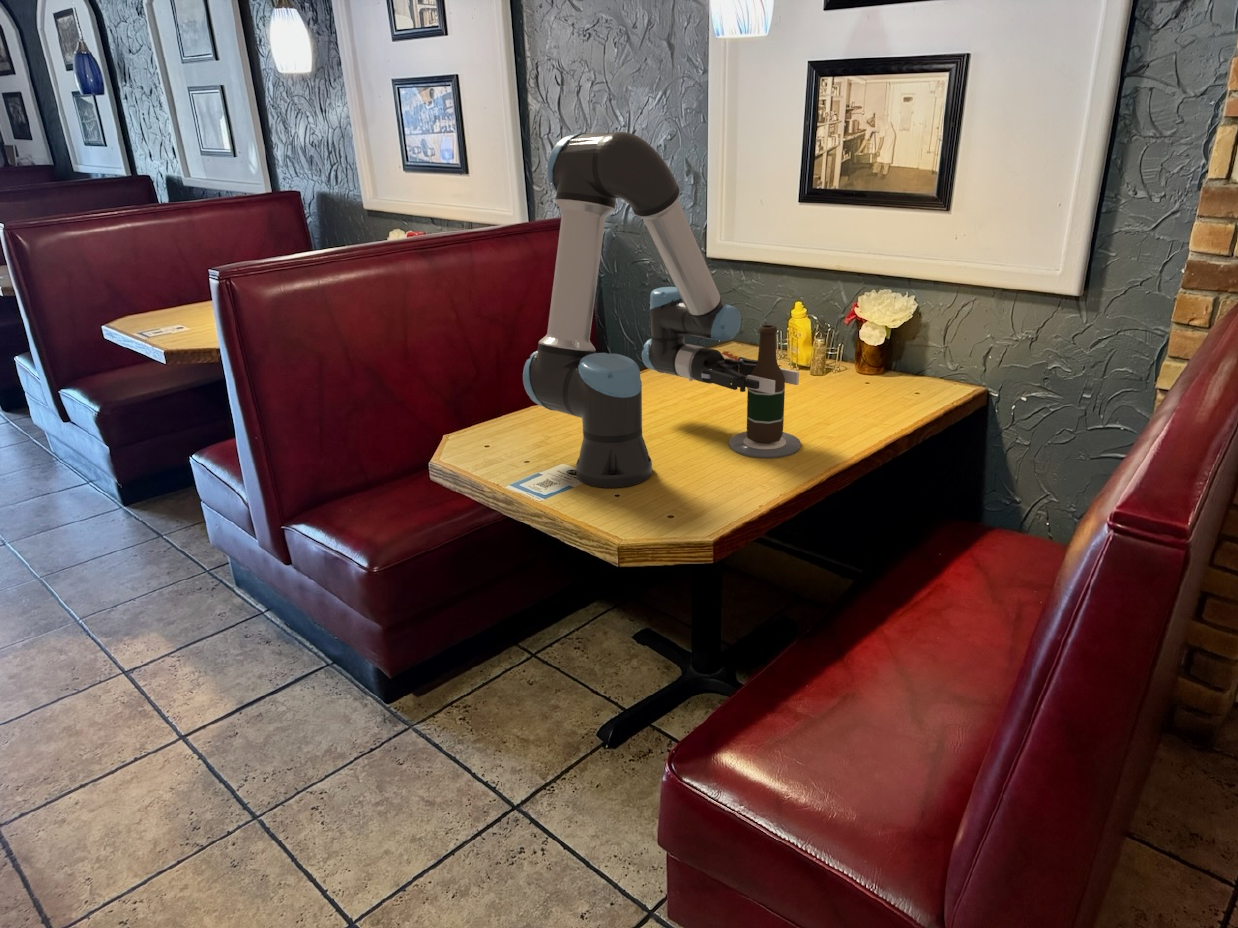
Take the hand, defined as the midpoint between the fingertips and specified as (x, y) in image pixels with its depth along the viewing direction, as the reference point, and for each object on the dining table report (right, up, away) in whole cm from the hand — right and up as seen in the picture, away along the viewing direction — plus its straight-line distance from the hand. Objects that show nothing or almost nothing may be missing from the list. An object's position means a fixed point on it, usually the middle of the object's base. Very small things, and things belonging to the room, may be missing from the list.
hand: (785, 382), depth 171 cm
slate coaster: (-3, -12, +9) cm, 16 cm away
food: (-2, +9, +62) cm, 63 cm away
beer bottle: (-3, -11, +8) cm, 14 cm away
